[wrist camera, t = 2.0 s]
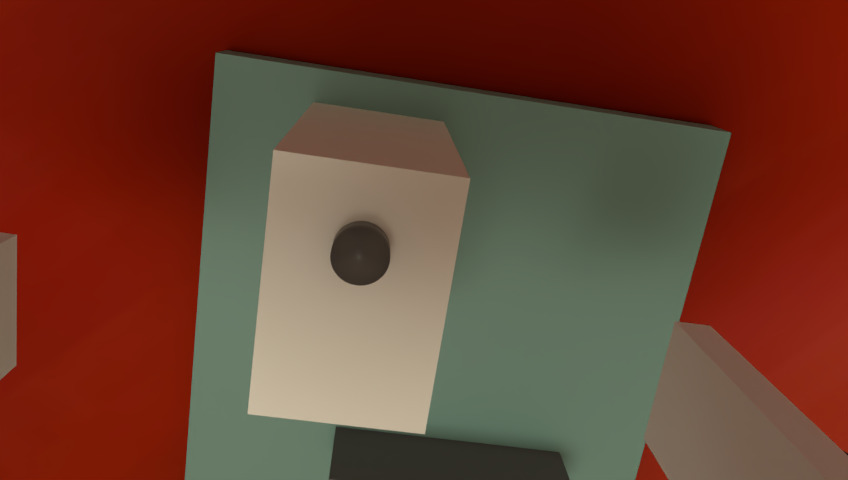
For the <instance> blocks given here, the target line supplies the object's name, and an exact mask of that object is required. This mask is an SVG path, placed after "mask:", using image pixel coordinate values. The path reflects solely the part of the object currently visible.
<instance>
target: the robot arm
mask: <svg viewBox="0 0 848 480" xmlns="http://www.w3.org/2000/svg"><path fill="white" fill-rule="evenodd" d="M16 315H17V235H15V234H8V233H0V380H1V379H2V378H3V377H4V376H5V375H6V374H7V373H8V372H9V371H10V370H12V369H13V368H14V367H15V366H16ZM644 440H645V442H646V443H647V445H648V447H649V448H650V450H651V451H652V453H653V455H654V456H655V458H656V460H657V461H658V463H659V465H660V466H661V468H662V469H663V471H664V473H665V474H666V476H667V478H668V479H669V480H848V453H846V452H845V451H843V450H841V449H840V448H839V447H838V446H837V445H836V444H835V443H834V442H833V441H832V440H831V439H830V438H829V437H828V436H826V435H825V434H824V433H823V432H822V431H821V430H820V429H819V428H818V427H817V426H816V425H815V424H814V423H813V422H812V421H811V420H810V419H808V418H807V417H806V416H805V415H804V414H803V413H802V412H801V411H800V410H799V409H798V408H797V407H796V406H795V405H794V404H793V403H792V402H790V401H789V400H788V399H787V398H786V397H785V396H784V395H783V394H782V393H781V392H780V391H779V390H778V389H777V388H776V387H775V386H774V385H772V384H771V383H770V382H769V381H768V380H767V379H766V378H765V377H764V376H763V375H762V374H761V373H760V372H759V371H758V370H757V369H756V368H754V367H753V366H752V365H751V364H750V363H749V362H748V361H747V360H746V359H745V358H744V357H743V356H742V355H741V354H740V353H739V352H737V351H736V350H735V349H734V348H733V347H732V346H731V345H730V344H729V343H728V342H727V341H726V340H725V339H724V338H723V337H722V336H721V335H719V334H718V333H717V332H716V331H715V330H714V329H713V328H712V327H711V326H707V325H700V324H692V323H684V322H677V321H675V323H674V327H673V331H672V334H671V338H670V342H669V345H668V349H667V353H666V357H665V360H664V364H663V368H662V372H661V375H660V379H659V383H658V387H657V390H656V394H655V398H654V402H653V405H652V409H651V413H650V417H649V420H648V424H647V428H646V432H645V435H644Z"/></svg>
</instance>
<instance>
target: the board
mask: <svg viewBox="0 0 848 480" xmlns="http://www.w3.org/2000/svg"><path fill="white" fill-rule="evenodd" d="M313 102H317V103H324V104H331V105H337V106H344V107H351V108H357V109H364V110H370V111H377V112H384V113H390V114H397V115H403V116H410V117H417V118H423V119H430V120H437V121H443V122H444V123H445V125H446V127H447V130H448V132H449V134H450V136H451V138H452V140H453V142H454V145H455V147H456V149H457V151H458V153H459V155H460V157H461V159H462V162H463V164H464V166H465V168H466V170H467V172H468V174H469V177H470V184H469V189H468V195H467V200H466V206H465V212H464V217H463V223H462V228H461V234H460V240H459V245H458V251H457V257H456V262H455V268H454V273H453V279H452V285H451V290H450V296H449V301H448V307H447V313H446V318H445V324H444V330H443V335H442V341H441V346H440V352H439V358H438V363H437V369H436V374H435V380H434V386H433V391H432V397H431V403H430V408H429V414H428V419H427V425H426V431H425V434H417V433H409V432H400V431H391V430H382V429H374V428H365V427H356V426H347V425H338V424H330V423H321V422H312V421H303V420H295V419H286V418H277V417H268V416H259V415H251V414H248V404H249V393H250V383H251V373H252V363H253V352H254V342H255V332H256V322H257V311H258V301H259V291H260V281H261V270H262V260H263V250H264V240H265V230H266V219H267V209H268V199H269V189H270V178H271V168H272V158H273V150H274V148H275V147H276V146H277V145H278V144H279V142H280V141H281V140H282V139H283V138H284V137H285V135H286V134H287V133H288V132H289V131H290V129H291V128H292V127H293V126H294V125H295V123H296V122H297V121H298V120H299V119H300V117H301V116H302V115H303V114H304V113H305V111H306V110H307V109H308V108H309V107H310V105H311V104H312V103H313ZM730 136H731V132H728V131H725V130H723V129H720V128H717V127H714V126H711V125H705V124H699V123H692V122H686V121H679V120H673V119H666V118H660V117H654V116H647V115H641V114H634V113H628V112H622V111H615V110H609V109H602V108H596V107H589V106H583V105H577V104H570V103H564V102H557V101H551V100H544V99H538V98H532V97H525V96H519V95H512V94H506V93H499V92H493V91H487V90H480V89H474V88H467V87H461V86H454V85H448V84H442V83H435V82H429V81H422V80H416V79H410V78H403V77H397V76H390V75H384V74H377V73H371V72H365V71H358V70H352V69H345V68H339V67H332V66H326V65H320V64H313V63H307V62H300V61H294V60H287V59H281V58H275V57H268V56H262V55H255V54H249V53H243V52H236V51H230V50H224V51H220V52H216V54H215V68H214V82H213V96H212V110H211V124H210V137H209V151H208V165H207V179H206V193H205V207H204V221H203V235H202V249H201V263H200V276H199V290H198V304H197V318H196V332H195V346H194V360H193V374H192V388H191V402H190V415H189V429H188V443H187V457H186V471H185V480H635V478H636V474H637V471H638V467H639V464H640V460H641V456H642V453H643V449H644V446H645V440H644V435H645V432H646V428H647V424H648V420H649V417H650V413H651V409H652V405H653V402H654V398H655V394H656V390H657V387H658V383H659V379H660V375H661V372H662V368H663V364H664V360H665V357H666V353H667V349H668V345H669V342H670V338H671V334H672V331H673V327H674V323H675V321H677V322H679V320H680V316H681V313H682V309H683V305H684V302H685V298H686V295H687V291H688V287H689V284H690V280H691V277H692V273H693V269H694V266H695V262H696V259H697V255H698V251H699V248H700V244H701V241H702V237H703V233H704V230H705V226H706V223H707V219H708V215H709V212H710V208H711V205H712V201H713V198H714V194H715V190H716V187H717V183H718V180H719V176H720V172H721V169H722V165H723V162H724V158H725V154H726V151H727V147H728V144H729V140H730Z"/></svg>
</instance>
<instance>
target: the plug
mask: <svg viewBox="0 0 848 480" xmlns="http://www.w3.org/2000/svg"><path fill="white" fill-rule="evenodd" d="M469 184H470V177H469V174H468V172H467V170H466V168H465V166H464V164H463V162H462V159H461V157H460V155H459V153H458V151H457V149H456V147H455V145H454V142H453V140H452V138H451V136H450V134H449V132H448V130H447V127H446V125H445V123H444V122H443V121H437V120H430V119H423V118H417V117H410V116H403V115H397V114H390V113H384V112H377V111H370V110H364V109H357V108H351V107H344V106H337V105H331V104H324V103H317V102H313V103H312V104H311V105H310V107H309V108H308V109H307V110H306V111H305V113H304V114H303V115H302V116H301V117H300V119H299V120H298V121H297V122H296V123H295V125H294V126H293V127H292V128H291V129H290V131H289V132H288V133H287V134H286V135H285V137H284V138H283V139H282V140H281V141H280V142H279V144H278V145H277V146H276V147H275V148H274V150H273V158H272V168H271V178H270V189H269V199H268V209H267V219H266V230H265V240H264V250H263V260H262V270H261V281H260V291H259V301H258V311H257V322H256V332H255V342H254V352H253V363H252V373H251V383H250V393H249V404H248V414H251V415H259V416H268V417H277V418H286V419H295V420H303V421H312V422H321V423H330V424H338V425H347V426H356V427H365V428H374V429H382V430H391V431H400V432H409V433H417V434H425V431H426V425H427V419H428V414H429V408H430V403H431V397H432V391H433V386H434V380H435V374H436V369H437V363H438V358H439V352H440V346H441V341H442V335H443V330H444V324H445V318H446V313H447V307H448V301H449V296H450V290H451V285H452V279H453V273H454V268H455V262H456V257H457V251H458V245H459V240H460V234H461V228H462V223H463V217H464V212H465V206H466V200H467V195H468V189H469Z"/></svg>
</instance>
